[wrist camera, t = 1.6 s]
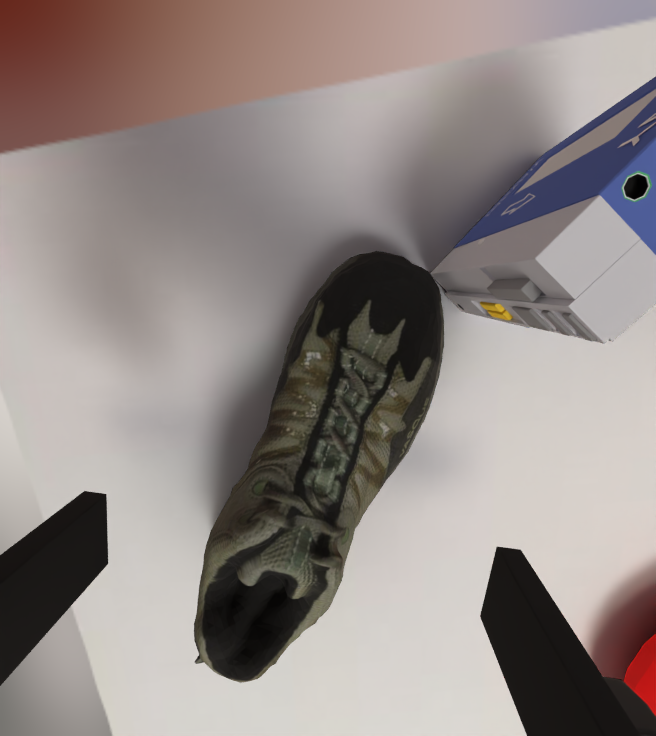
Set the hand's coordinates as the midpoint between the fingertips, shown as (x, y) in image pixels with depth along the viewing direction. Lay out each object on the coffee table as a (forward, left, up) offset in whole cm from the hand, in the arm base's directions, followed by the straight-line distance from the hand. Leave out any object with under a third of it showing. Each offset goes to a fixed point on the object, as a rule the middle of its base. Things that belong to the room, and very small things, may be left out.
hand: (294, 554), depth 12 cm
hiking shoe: (0, 0, -10) cm, 10 cm away
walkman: (-12, +8, -10) cm, 18 cm away
